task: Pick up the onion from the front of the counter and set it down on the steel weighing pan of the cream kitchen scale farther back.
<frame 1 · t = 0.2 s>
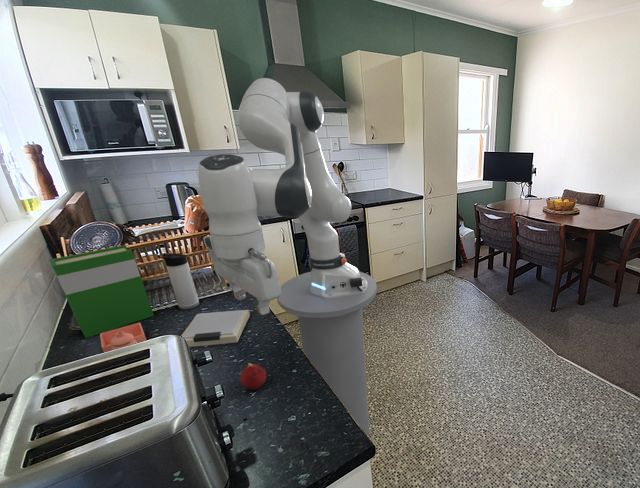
hand: (252, 305, 73), 27 cm above the counter, tool pointing down, fingers open, 8 cm apart
green box: (119, 322, 115), on the counter
red box: (128, 353, 100), on the counter
scale: (217, 330, 111), on the counter
travel mug: (189, 306, 125), on the counter
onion: (256, 389, 89), on the counter
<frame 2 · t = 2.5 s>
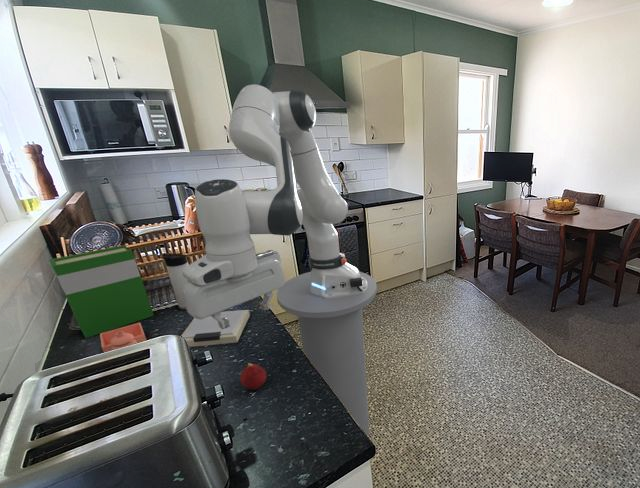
hand: (246, 317, 78), 22 cm above the counter, tool pointing down, fingers open, 8 cm apart
nothing on the counter moved.
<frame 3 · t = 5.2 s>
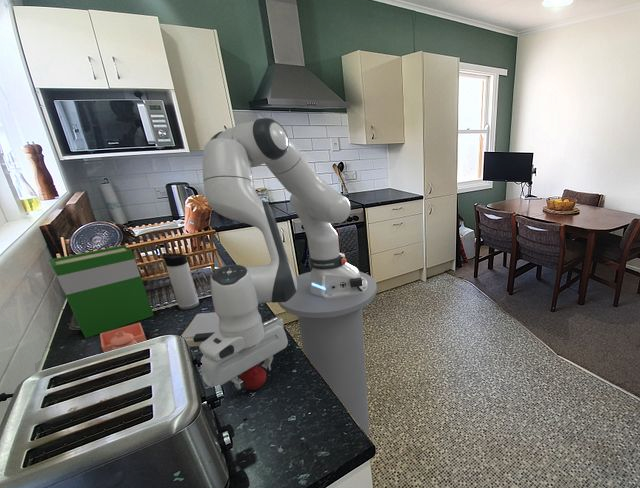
hand: (253, 378, 87), 3 cm above the counter, tool pointing down, fingers closed on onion, 6 cm apart
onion: (256, 389, 89), on the counter, touching gripper
everything else where it was.
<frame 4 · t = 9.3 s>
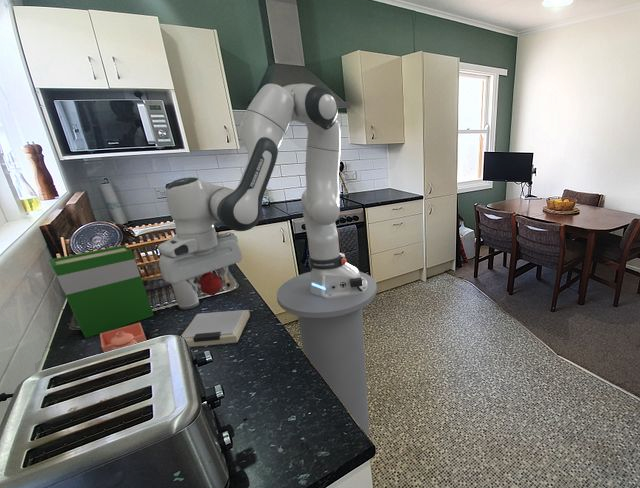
hand: (210, 285, 99), 19 cm above the counter, tool pointing down, fingers closed on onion, 6 cm apart
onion: (213, 295, 101), point 16 cm above the counter, touching gripper
everything else where it was.
when the fingers open (6 cm above the counter, at t = 13.4 s): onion stays where it is, resting on scale.
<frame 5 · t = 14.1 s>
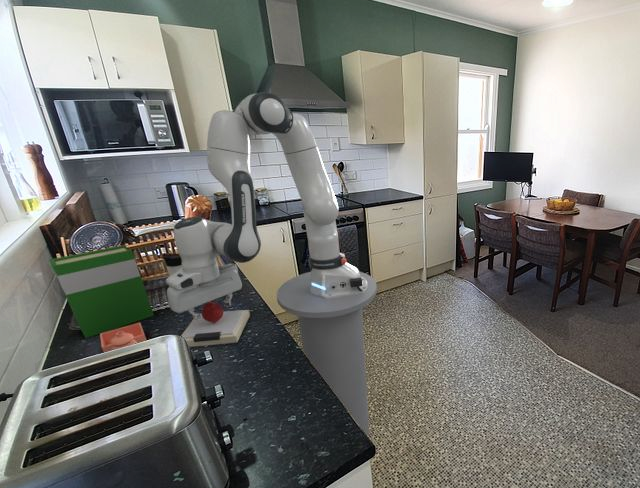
hand: (213, 312, 109), 7 cm above the counter, tool pointing down, fingers open, 8 cm apart
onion: (215, 323, 110), point 3 cm above the counter, touching scale
everything else where it was.
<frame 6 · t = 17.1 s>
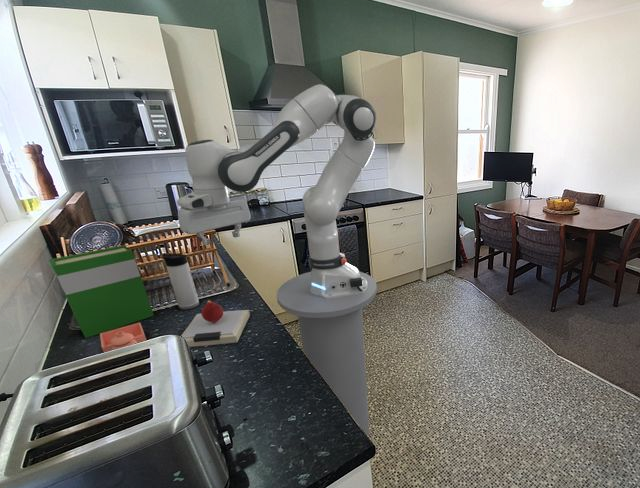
hand: (222, 240, 110), 27 cm above the counter, tool pointing down, fingers open, 8 cm apart
nothing on the counter moved.
at the end: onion inside the target area on the scale (0.1 cm from its centre), point 2.8 cm above the scale's base; the gripper is holding nothing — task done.
